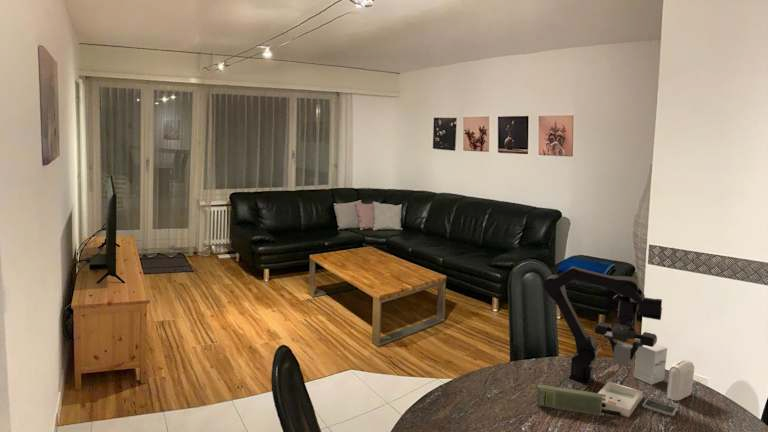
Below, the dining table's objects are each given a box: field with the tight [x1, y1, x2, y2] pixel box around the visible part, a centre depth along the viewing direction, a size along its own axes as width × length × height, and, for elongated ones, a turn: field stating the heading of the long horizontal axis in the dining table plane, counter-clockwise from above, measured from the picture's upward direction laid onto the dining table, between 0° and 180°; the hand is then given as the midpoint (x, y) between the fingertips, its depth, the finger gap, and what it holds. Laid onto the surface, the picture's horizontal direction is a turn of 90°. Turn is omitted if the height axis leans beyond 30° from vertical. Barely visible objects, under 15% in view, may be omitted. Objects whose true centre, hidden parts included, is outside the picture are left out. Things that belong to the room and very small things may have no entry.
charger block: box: [612, 341, 634, 366], centre depth 178 cm, size 5×5×6 cm
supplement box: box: [633, 343, 668, 386], centre depth 186 cm, size 7×7×13 cm
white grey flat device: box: [597, 380, 644, 418], centre depth 170 cm, size 11×16×3 cm
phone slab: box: [642, 398, 678, 418], centre depth 166 cm, size 5×9×1 cm, turn 50°
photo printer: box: [666, 359, 695, 402], centre depth 174 cm, size 10×4×12 cm, turn 123°
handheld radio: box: [536, 384, 622, 417], centre depth 164 cm, size 7×3×25 cm
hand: (623, 357), depth 179 cm, fingers closed on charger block, 5 cm apart
